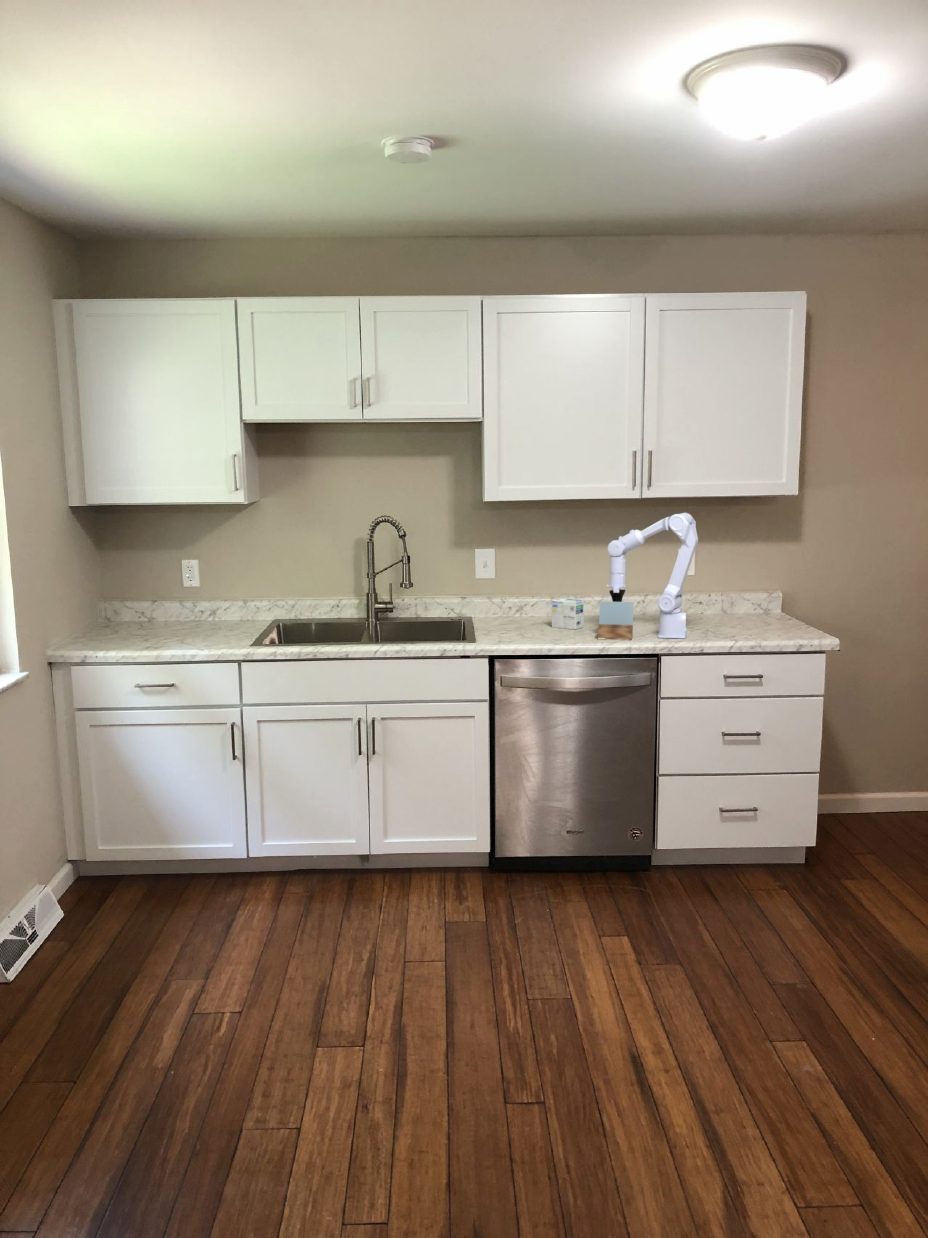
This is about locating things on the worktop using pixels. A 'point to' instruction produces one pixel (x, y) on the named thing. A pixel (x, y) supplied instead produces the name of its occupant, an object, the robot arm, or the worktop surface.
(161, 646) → the worktop surface
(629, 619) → the lid
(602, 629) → the crate
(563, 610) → the light bulb box
